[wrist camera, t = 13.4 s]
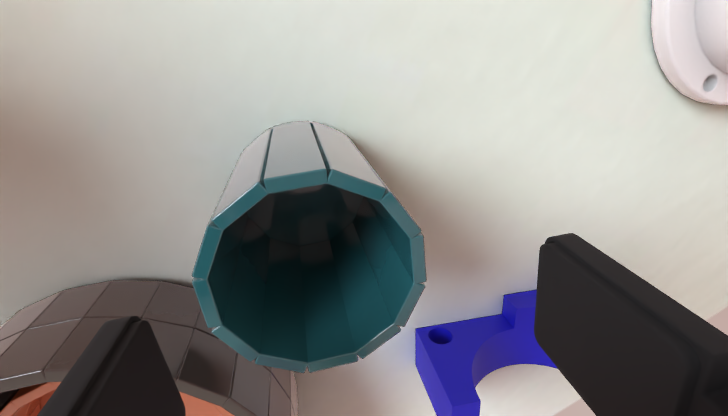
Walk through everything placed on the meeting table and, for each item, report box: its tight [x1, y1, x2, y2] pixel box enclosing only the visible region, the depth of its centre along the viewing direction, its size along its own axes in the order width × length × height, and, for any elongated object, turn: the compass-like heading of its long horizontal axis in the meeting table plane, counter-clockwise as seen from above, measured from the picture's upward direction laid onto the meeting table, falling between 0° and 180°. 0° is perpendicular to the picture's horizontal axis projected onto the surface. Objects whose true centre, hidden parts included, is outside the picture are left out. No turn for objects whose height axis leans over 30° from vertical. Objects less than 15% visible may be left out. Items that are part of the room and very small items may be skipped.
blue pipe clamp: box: [416, 290, 558, 416], centre depth 23 cm, size 12×4×6 cm, turn 93°
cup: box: [192, 121, 426, 373], centre depth 16 cm, size 7×7×9 cm
